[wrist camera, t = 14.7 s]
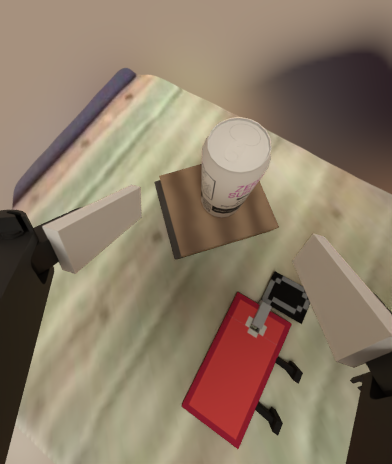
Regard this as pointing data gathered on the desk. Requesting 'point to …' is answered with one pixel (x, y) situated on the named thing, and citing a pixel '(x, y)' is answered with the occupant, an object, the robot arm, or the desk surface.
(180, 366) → the desk surface
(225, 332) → the red board with handle
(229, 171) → the supplement can
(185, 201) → the brown flat block
